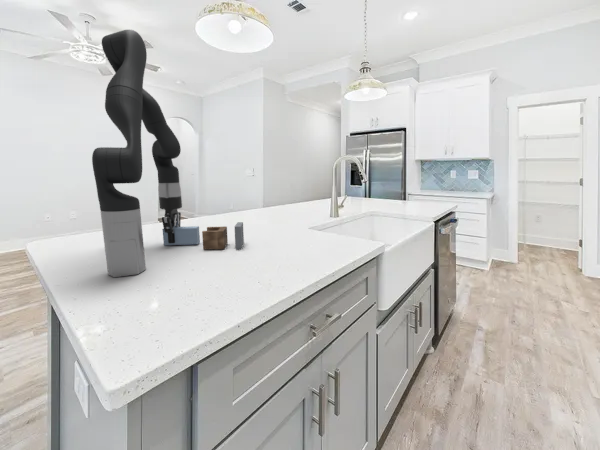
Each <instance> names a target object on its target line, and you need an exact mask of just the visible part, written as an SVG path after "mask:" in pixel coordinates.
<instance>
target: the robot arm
mask: <svg viewBox="0 0 600 450" xmlns="http://www.w3.org/2000/svg"><path fill="white" fill-rule="evenodd" d="M101 46H102V51H103V54H104V55H105V57H106V60H107V61H108V63H109V64H110V67H111V68H112V69H113V71H114V75H113V76H112V77H111V79H110V80H109V82H108V84H107V86H106V89H105V100H104V101H105V102H104V109H105V111H106V115H108V117H109V119H110V120H111V122H112V123H113V124H114V126H115V127H116V128H117V129H118V130H119V132H120V133H121V134H122V136H123V138H124V140H125V141H126V146H125V147H111V146H110V147H108V146H107V147H102V146H101V147H96V148H95V149H94V150H93V152H92V156H91V164H92V171H93V175H94V179H95V185H96V193H97V200H98V203H99V210H100V217H101V218H100V219H101V226H102V235H103V243H104V252H105V260H106V267H107V269H106V270H107V275H109V276H111V277H112V278H119V277H127V276H135V275H139V274H141V273H142V272H144V271H146V269H147V265H146V258H145V257H146V255H145V246H144V237H143V225H142V215H141V214H142V213H141V205H140V200H139V198H138V197H136V196H134V195H130V194H125V193H123V192H122V191H120V190H118V189H116V187H115V184H118V185H119V184H120V185H121V184H136V183H139V182H140V181H141V179H142V175H143V154H142V153H143V152H142V151H143V150H142V149H143V148H142V123H143V125H144V127H145V130H146V131H147V132H148V133H149V134H152V135H153V137H154V138H155V139H156V140H155V141H153V143H152V147H151V154H152V158H153V161H154V165H155V168H156V171H157V182H158V187H157V189H158V200H159V201H158V202H159V204H158V205H159V209H160V210H164V217H163V216H162V217H161V221H162V227H163V229H164V231H165V233H168V243H175V234H174V227H181V219H182V218H181V217H182V216H181V215H182V214H181V212H178V209H181V208H182V207H183V203H182V202H183V200H182V190H181V184H180V173H179V169H178V167H177V166H175V165H174V163H173V160H172V159H176V158H178V157H179V156H180V154H181V144H180V141H179V140H178V137H177V136H176V135H175V133H174V132H173V130H172V128H171V127H170V125H168V123H167V120H166V118H165V116H164V113H163V111H162V108H161V106H160V105H159V102H158V101H157V100H156V99H155V98H154V96H153V95H151V94H150V93H149V92H148V91H147V90H145V89H144V87H143V86H144V78H145V72H146V71H145V70H146V64H147V59H148V58H147V56H148V55H147V47H146V44H145V41H144V40H143V37H142V36H141V34H140V33H138V32H137V31H136V30H134V29H123V30H120V31H117V32H113V33H110V34H106V35H105V36H103V37H102V38H101ZM169 228H170V229H169Z"/></svg>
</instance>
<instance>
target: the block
mask: <svg viewBox="0 0 600 450" xmlns="http://www.w3.org/2000/svg"><path fill="white" fill-rule="evenodd" d="M201 233H202V237H201V238H202V248H203V250H224V249H225V248H226V247H227V245H228V243H229V242H228V226H207V227H206V230H202V232H201Z"/></svg>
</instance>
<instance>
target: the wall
mask: <svg viewBox="0 0 600 450" xmlns="http://www.w3.org/2000/svg"><path fill="white" fill-rule="evenodd" d="M234 243H235V245H234V246H235V247H234V249H235V250H242V249H243V246H244V243H245V237H244V222H241V221H240V222H236V224H235V225H234Z"/></svg>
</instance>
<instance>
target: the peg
mask: <svg viewBox="0 0 600 450" xmlns="http://www.w3.org/2000/svg"><path fill="white" fill-rule="evenodd" d="M169 229H170V228H169ZM174 234H175V243H168V233H165V231H164V228H162V241H163V246H180V245H181V246H184V245H185V246H187V245H198V244H199V243H201V238H200V236H201V235H200V226H199V225H197V226H196V225H195V226H180V227H174Z"/></svg>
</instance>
